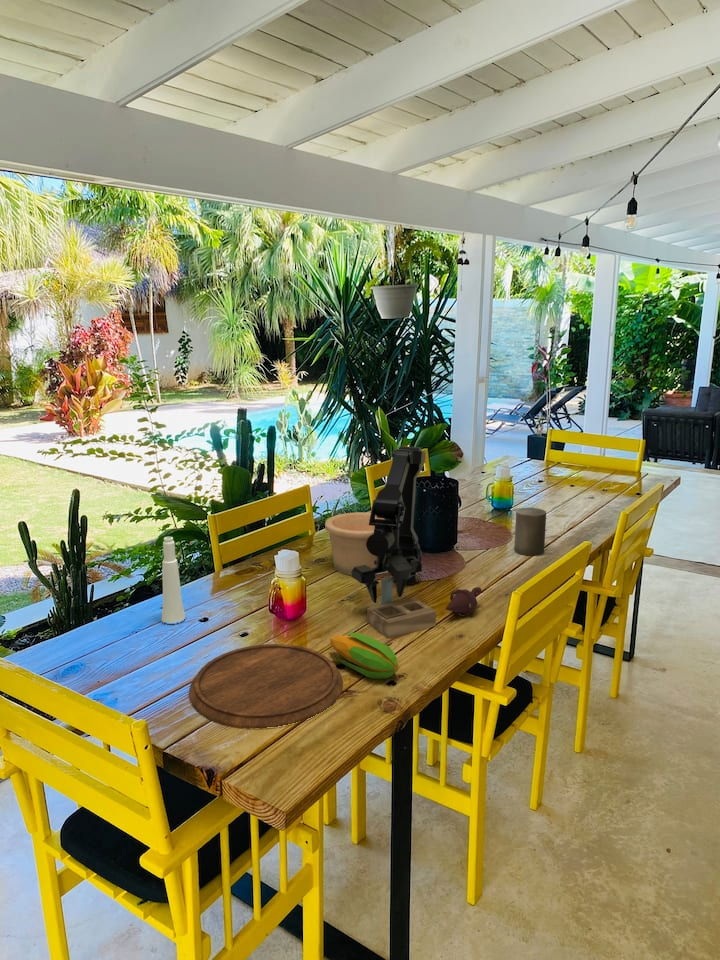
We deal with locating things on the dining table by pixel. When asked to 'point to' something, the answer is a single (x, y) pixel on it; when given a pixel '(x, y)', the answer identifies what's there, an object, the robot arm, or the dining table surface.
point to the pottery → (350, 541)
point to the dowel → (387, 591)
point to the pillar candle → (530, 531)
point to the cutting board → (265, 686)
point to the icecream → (463, 601)
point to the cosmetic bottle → (171, 585)
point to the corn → (366, 655)
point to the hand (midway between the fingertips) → (387, 599)
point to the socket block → (401, 617)
